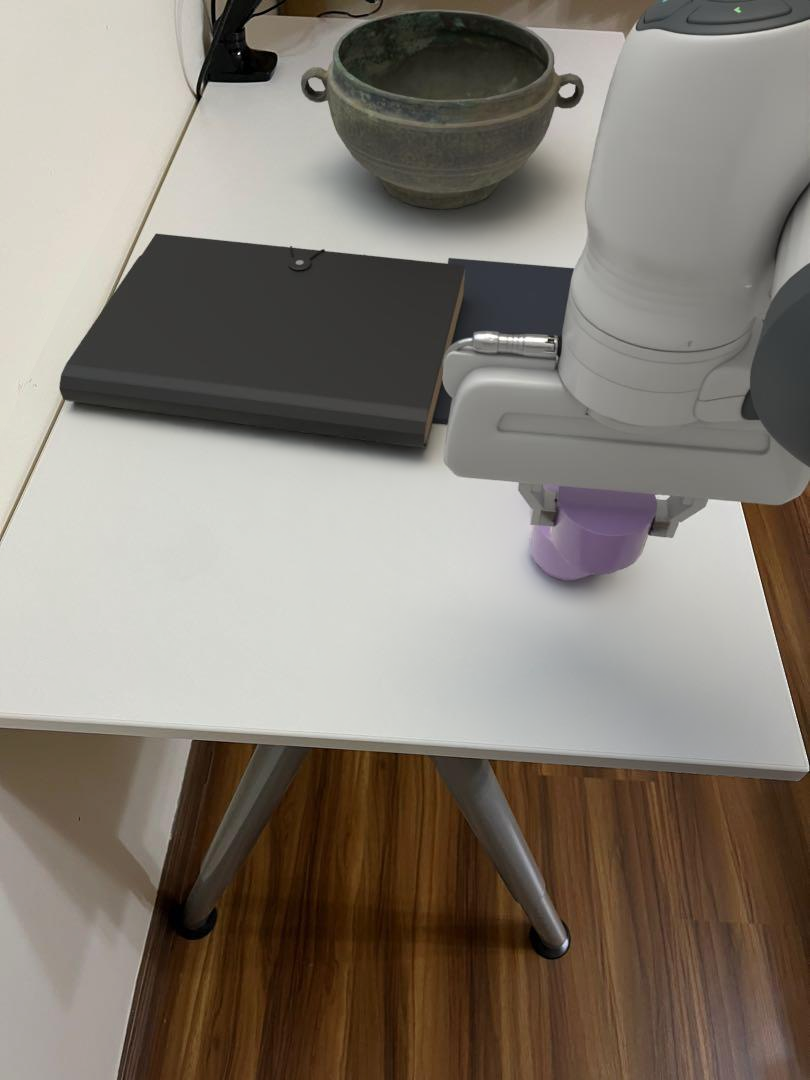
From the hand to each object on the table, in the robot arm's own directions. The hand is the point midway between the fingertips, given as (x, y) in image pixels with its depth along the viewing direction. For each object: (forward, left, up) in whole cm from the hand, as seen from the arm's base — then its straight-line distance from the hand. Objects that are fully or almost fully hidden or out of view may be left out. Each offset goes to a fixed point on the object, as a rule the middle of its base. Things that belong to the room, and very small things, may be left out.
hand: (600, 524), depth 53 cm
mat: (+3, -34, -12) cm, 36 cm away
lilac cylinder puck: (0, -7, -12) cm, 14 cm away
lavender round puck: (0, 0, -2) cm, 2 cm away
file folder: (+28, -29, -12) cm, 42 cm away
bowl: (+16, -65, -12) cm, 68 cm away
